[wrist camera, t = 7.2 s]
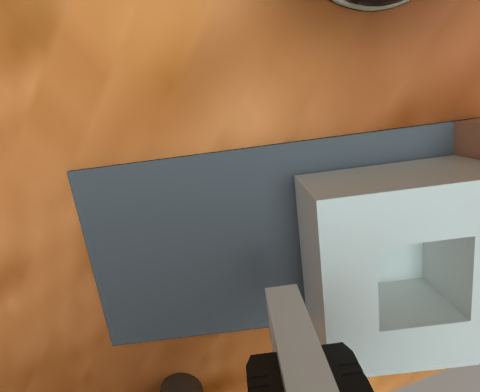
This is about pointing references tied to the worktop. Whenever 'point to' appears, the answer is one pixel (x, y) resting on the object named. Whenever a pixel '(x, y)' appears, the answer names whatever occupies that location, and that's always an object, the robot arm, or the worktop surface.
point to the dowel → (181, 383)
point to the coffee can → (370, 4)
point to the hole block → (394, 262)
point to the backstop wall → (467, 138)
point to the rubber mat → (214, 228)
